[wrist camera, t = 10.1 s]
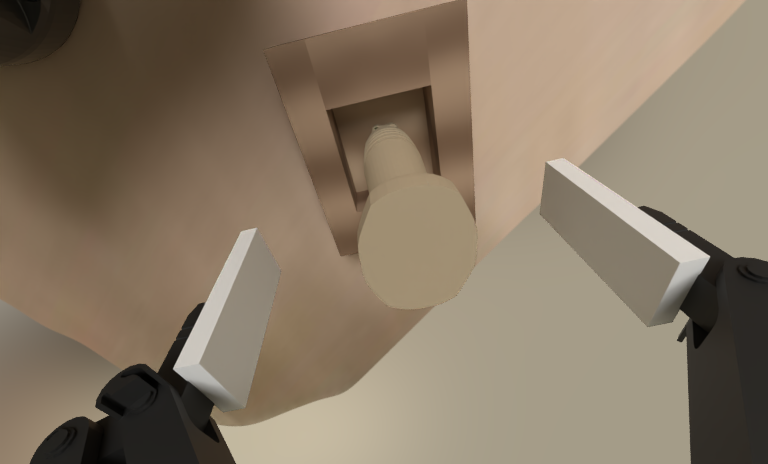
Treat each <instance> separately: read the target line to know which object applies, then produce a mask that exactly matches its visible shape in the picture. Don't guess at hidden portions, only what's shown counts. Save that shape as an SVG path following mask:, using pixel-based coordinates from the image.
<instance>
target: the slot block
mask: <svg viewBox="0 0 768 464" xmlns="http://www.w3.org/2000/svg"><path fill="white" fill-rule="evenodd" d="M263 51H264V54H265V56H266V59H267V62H268V64H269V67H270V70H271V72H272V75H273V78H274V80H275V83H276V86H277V88H278V91H279V94H280V96H281V99H282V102H283V104H284V107H285V110H286V112H287V115H288V117H289V120H290V123H291V125H292V128H293V131H294V133H295V136H296V139H297V141H298V144H299V147H300V149H301V152H302V155H303V157H304V160H305V163H306V165H307V168H308V171H309V173H310V176H311V179H312V181H313V184H314V186H315V189H316V192H317V194H318V197H319V200H320V202H321V205H322V208H323V210H324V213H325V216H326V218H327V221H328V224H329V226H330V229H331V232H332V234H333V237H334V240H335V242H336V245H337V248H338V250H339V253H340V255H341V256H345V255H349V254H354V253H359V252H358V242H357V231H358V227H359V223H360V219H361V216H362V212H363V209H364V206H365V204H366V201H367V198H368V196H369V191H368V187H367V182H366V178H365V174H364V149H365V144H366V141H367V139H368V137H369V136H370V134H371V133H372V127H373V126H374V125H376V124H379V125H385V124H388V123H389V122H392V123H395V124H396V125H397V126H398V128H399V129H401V130H402V131H404V132H405V133H406V134H407V135H408V136H409V138H410V139H411V140H412V141H413V143H414V144H415V146H416V148H417V150H418V151H419V153H420V155H421V158H422V160H423V163H424V166H425V169H426V172H427V173H428V174H435V175H439V176H442V177H444V178H446V179H448V180H450V181H452V182H453V183H454V185H455V186H456V188H457V189H458V191H459V193H460V194H461V196H462V198H463V200H464V201H465V203H466V205H467V207H468V208H469V210H470V212H471V214H472V216H473V218H474V221H475V196H474V170H473V144H472V118H471V92H470V67H469V41H468V15H467V0H457V1H452V2H447V3H444V4H440V5H436V6H432V7H428V8H424V9H420V10H416V11H412V12H408V13H404V14H400V15H396V16H392V17H388V18H384V19H380V20H376V21H373V22H369V23H365V24H361V25H357V26H353V27H349V28H345V29H341V30H337V31H333V32H329V33H325V34H321V35H317V36H313V37H309V38H305V39H302V40H298V41H294V42H290V43H286V44H282V45H278V46H274V47H271V48H268V49H264V50H263ZM475 224H476V222H475Z"/></svg>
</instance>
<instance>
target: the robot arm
mask: <svg viewBox="0 0 768 464" xmlns="http://www.w3.org/2000/svg"><path fill="white" fill-rule="evenodd" d="M79 7H80V0H0V67H1V66H9V65H17V64H25V63H29V62H33V61H36V60H39V59H42V58H44V57H46V56H48V55H50V54H51V53H53V52H54V51H55V50H57V49H58V48H59V47H60V46H61V45H62V44H63V43H64V42H65V40H66V39H67V38H68V36H69V35H70V33H71V31H72V29H73V27H74V25H75V22H76V19H77V16H78V11H79ZM540 215H541V216H542V217H543V218H544V219H545V220H546V221H547V222H548V223H549V224H550V225H551V226H552V227H553V228H554V230H555V231H556V232H557V233H559V235H560V236H561V237H562V238H563V239H564V240H565V241H566V242H567V243H568V244H569V245H570V246H571V247H572V248H573V249H574V251H576V252H577V254H578V255H579V256H580V257H581V258H582V259H583V260H584V261H585V262H586V263H587V264H588V265H589V266H590V267H591V268H592V269H593V270H594V271H595V273H597V275H598V276H599V277H600V278H601V279H602V280H603V281H604V282H605V283H606V284H607V285H608V286H609V287H610V288H611V289H612V290H613V291H614V292H615V293H616V295H617V296H618V297H619V298H620V299H621V300H622V301H623V302H624V303H625V304H626V305H627V306H628V307H629V308H630V309H631V310H632V311H633V312H634V313H635V314H636V315H637V316H638V318H639V319H640V320H641V321H642V322H643V323H644V324H645V325H646V326H647V327H650V326H655V325H661V324H666V323H670V322H673V320H674V318H675V317H676V315H677V314H678V312H679V310H682V311H683V312H684V313H685V314H686V315H687V316H688V317H689V318H690V319H689V320H688V322H687V323H686V325H685V327H684V328H683V330H682V332H681V333H680V335H679V337H678V339H677V341H679V342H682V341H683V340H684V338H685V337H686V336H687V364H688V393H689V422H690V451H691V464H768V262H767V261H763V260H759V259H755V258H744V257H740V258H733V257H732V256H730V255H729V254H727V253H726V252H724V251H722V250H721V249H719V248H718V247H716V246H714V245H713V244H711V243H710V242H708V241H707V240H705V239H703V238H702V237H700V236H698V235H697V234H696V233H694V232H692V231H691V230H689V231H688V230H687V228H686V227H684V226H683V225H681V224H679V223H676V221H675V220H673V219H672V218H670V217H668V216H667V215H665V214H664V213H662V212H660V211H657V210H654V209H651V208H649V207H646V206H641V207H636V206H634V205H633V204H631V203H630V202H628V201H627V200H625V199H624V198H622V197H621V196H619V195H618V194H616V193H615V192H613V191H612V190H610V189H609V188H607V187H606V186H604V185H603V184H601V183H600V182H599V181H597V180H596V179H594V178H593V177H591V176H590V175H588V174H586V173H585V172H584V171H582V170H581V169H579V168H578V167H576V166H575V165H573V164H572V163H570V162H569V161H567V160H566V159H564V158H561V159H557V160H552V161H548V162H546V165H545V173H544V182H543V190H542V198H541V207H540ZM280 274H281V269H280V267H279V265H278V264H277V262H276V260H275V258H274V257H273V255H272V253H271V251H270V249H269V248H268V246H267V244H266V242H265V240H264V239H263V237H262V235H261V233H260V232H259V230H258V228H253V229H249V230H245V231H241V233H240V235H239V237H238V239H237V241H236V243H235V245H234V247H233V249H232V251H231V253H230V255H229V257H228V259H227V261H226V263H225V265H224V267H223V269H222V271H221V273H220V275H219V277H218V279H217V281H216V283H215V285H214V287H213V289H212V291H211V293H210V295H209V297H208V299H207V301H206V302H205V303H200V304H198V305H197V307H196V308H195V309H194V310H193V311H192V312H191V313H190V314H189V315H188V317H187V319H186V321H185V322H184V324H183V326H182V330H181V331H180V332H179V334H178V336H177V337H176V341H174V343H173V345H172V347H171V349H170V351H169V352H168V354H167V356H166V358H165V360H164V362H163V364H162V366H161V367H160V369H159V371H158V373H156V372H155V371H154V370H152V369H151V368H150V367H149V366H147V365H146V364H137V365H133V366H130V367H128V368H127V369H125V370H123V371H121V372H120V373H118V374H117V375H116V376H115V377H114V378H112V379H111V380H110V381H109V382H108V383H107V384H106V386H105V387H104V388H103V389H102V390H101V393H100V394H99V396H98V398H97V400H96V406H95V407H96V408H98V409H99V410H101V411H103V412H104V413H106V414H108V415H109V416H107V417H105V418H103V419H101V420H99V421H97V422H93V421H92V420H90V419H88V418H86V417H76V418H73V419H71V420H69V421H67V422H65V423H64V424H62V425H61V426H59V427H58V428H56V429H55V430H54V431H53V432H52V433H51V434H50V435H49V436H48V437H47V438H45V440H44V441H43V442H42V444H41V445H40V446H39V447H38V449H37V450H36V452H35V454H34V455H33V457H32V459H31V462H30V464H236V463H235V461H234V459H233V457H232V455H231V453H230V450H229V448H228V446H227V444H226V442H225V440H224V438H223V436H222V434H221V432H220V430H219V428H218V426H217V424H216V422H215V420H214V419H213V418H212V417H211V416H210V414H211V412H212V409H213V406H214V405H215V406H216V407H218V408H219V409H220V410H221V411H222V412H228V411H233V410H238V409H243V408H246V404H247V400H248V396H249V392H250V389H251V385H252V381H253V377H254V373H255V370H256V366H257V362H258V358H259V354H260V351H261V347H262V343H263V339H264V335H265V331H266V328H267V324H268V320H269V316H270V312H271V309H272V305H273V301H274V297H275V293H276V290H277V286H278V282H279V278H280Z"/></svg>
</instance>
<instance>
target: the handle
mask: <svg viewBox="0 0 768 464" xmlns="http://www.w3.org/2000/svg"><path fill="white" fill-rule="evenodd" d="M364 174H365V178H366V182H367V187H368V191H369V196H368V198H367V201H366V204H365V206H364V209H363V212H362V216H361V219H360V223H359V227H358V231H357V242H358V252H359V258H360V263H361V268H362V273H363V276H364V279H365V281H366V283H367V285H368V286H369V287H370V289H371V290H372V291H373V292H374V293H375V294H376V295H377V296H378V297H379V298H380V299H381V300H382V301H383V302H384V303H385V304H386V305H387V306H389V307H393V308H397V309H411V310H412V309H422V308H427V307H432V306H436V305H439V304H442V303H444V302H446V301H448V300H450V299H452V298H453V297H455V296H457V294H458V293H459V291H460V290H461V288H462V287H463V285H464V283H465V282H466V281H467V279H468V277H469V276H470V274H471V272H472V270H473V268H474V265H475V260H476V252H477V239H478V237H477V227H476V224H475V221H474V218H473V216H472V214H471V212H470V210H469V208H468V207H467V205H466V203H465V201H464V200H463V198H462V196H461V194H460V193H459V191H458V189H457V188H456V186H455V185H454V183H453V182H452V181H450V180H448V179H446V178H444V177H442V176H439V175H435V174H428V173H427V172H426V169H425V166H424V163H423V160H422V158H421V155H420V153H419V151H418V150H417V148H416V146H415V144H414V143H413V141H412V140H411V139H410V138H409V136H408V135H407V134H406V133H405V132H404V131H402V130H401V129H399V128H398V126H397V125H396V124H395V123H392V122H389V123H388V124H385V125H379V124H376V125H374V126H373V127H372V133H371V134H370V136H369V137H368V139H367V141H366V144H365V149H364Z"/></svg>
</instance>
